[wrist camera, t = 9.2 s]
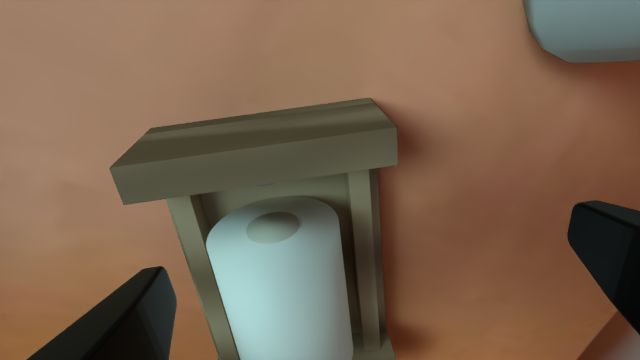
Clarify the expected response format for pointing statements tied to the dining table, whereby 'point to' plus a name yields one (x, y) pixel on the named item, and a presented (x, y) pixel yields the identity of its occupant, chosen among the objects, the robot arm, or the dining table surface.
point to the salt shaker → (586, 29)
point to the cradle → (274, 194)
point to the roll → (283, 280)
